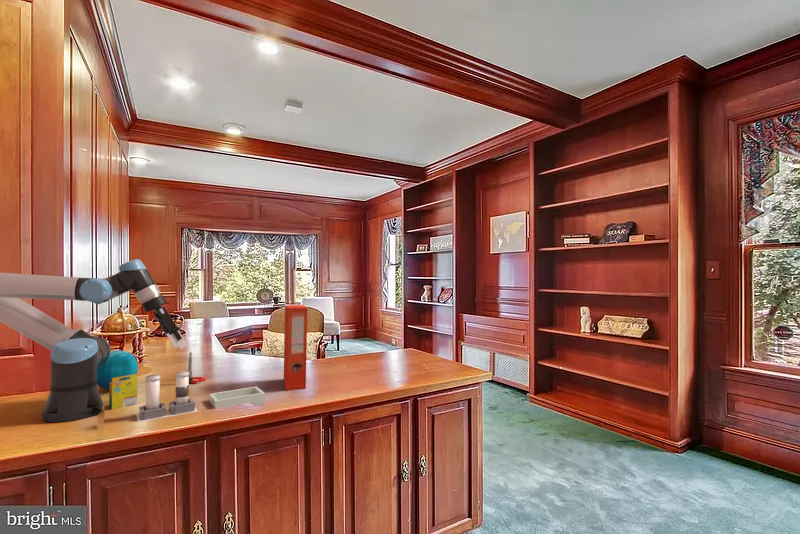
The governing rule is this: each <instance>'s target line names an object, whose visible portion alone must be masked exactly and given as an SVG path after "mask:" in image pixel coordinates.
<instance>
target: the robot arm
mask: <svg viewBox="0 0 800 534" xmlns="http://www.w3.org/2000/svg"><path fill="white" fill-rule="evenodd" d="M118 270H119V272H117V273H115V274H113V275H110V276H108V277H105V278H99V277H98V278H94V277H92V278H91V277H77V276H74V277H73V276H63V275H62V276H60V275H45V274H43V275H42V274H27V273H25V274H24V273H13V272H0V323H2V324H4V325H6V326H7V327H10V328H11V329H13V330H15V331H16V332H18V333H20V334H21V335H23V336H25V337H26V338H28V339H30V340H32V341H33V342H35V343H37V344H39V345H41V346H43V347H44V348H46V349H48V351H51V352H50V354H49V355H50V356H49V358H50V377H49V378H50V382H49V383H50V386H49V394H48V397H47V399H46V402H45V404H44V407H43V409H42V412H41V420H42V421H43V420H44V421H43V422H45V421H48V422H47V423H61V421H64V422H70V421H71V420H72V421H75V420H81V419H85V418H88V417H92V416H95V415H97V414H99V413H101V412H102V411H103V410H104V402H103V399H102V396H101V394H100V391H99V389H98V385H97V369H98V368H100V367H102V366H103V365H104V364H105V363H106V362H107V360H108V358H109V356H110V352H111V351H112V350H111V346H110V344H109V342H108V341H107V340H106V339H104V337H101V336H96V335H91V334H90V333H88V332H87V331H84V330H83V329H82V328H77V329H72V328H70V327H69V326H67V325H65V324H64V323H62V322H60V321H59V320H57V319H55V318H53V317H52V316H51V315H49V314H46V313H45V312H43V311H42V310H40V309H38V308H36V307H35V306H33V305H32V304H30V303H28V302H26V301H25V300H24V299H32V300H33V299H35V300H36V299H37V300H55V301H56V300H58V301H59V300H61V301H65V300H66V301H83V302H90V303H93V304H95V305H101V304H104V303H107V302H109V301H110V300H112V299H115V298H118V297H119V296H121V295H123V294H126V293H127V292H130V291H133V294H134V295H135V297H136V299H137V300H138V303H141V306H142V308H143V309H144V311H145V312H146V313H150V312H152V311H153V317H154V318H155V319H156V320H157V322H158V323H159V325H160V328H161V329H162V332H163V333H165V334H166V336H167V338H168V339H169V341H170V343H171V344H172V346H173V347H174V349H177V348H179V349H180V350H182V349H184V348H186V347H187V346H188V345H189V344H188V342H187V341H186V339H185V338H184V337H183V335H182V333H181V332H180V330H179V326H178V325H177V324H176V322H175V321H174V320H173V319H172V317H171V315H170V314H169V312H168V310H167V309H166V308H165V307H162V306H164V305H165V304H167V299H166V298H165V297H164V295H163V294H162V293H161V290H160V286H159V285H157V284H156V282H155V280H154V278H153V277H152V275H151V274H150V271H149V270H148V267H146V265H145V264H144V263H143V261H142V260H141V259H139V258H135V259H132V260H129V261H127V262H124V263H122V264H121V265H119V267H118Z"/></svg>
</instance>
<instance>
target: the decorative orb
mask: <svg viewBox="0 0 800 534" xmlns="http://www.w3.org/2000/svg"><path fill="white" fill-rule="evenodd" d="M138 370H139V362H138V360H137V358H136V357H135V356H134V355H133V354H132V353H130V352H128V351H125V350H121V349H119V350H111V352H110V356H109V358H108V360H107V362H106V363H105V364H104V365H103V366H102V367H100V368H98V369H97V387H99V388H101V389H103V390H104V389H105V390H109V383H111V382H112V378H116V377H121V376H127V375H133V374H137V375H138ZM126 379H130V377H127V378H126V377H124V378H122V379H119V380H120V381H121V380H126Z"/></svg>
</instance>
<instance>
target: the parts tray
mask: <svg viewBox="0 0 800 534" xmlns="http://www.w3.org/2000/svg"><path fill="white" fill-rule="evenodd" d="M208 401H209V403H210V404H211V405H212V407H213V408H214V409H220V408H225V407H231V406H232V407H233V406H238V405H245V404H249V403H250V404H251V405H253V407H255V406H256V407H257V406H260V405H261V404H262V405H265V404H266V393H265V392H264V391H263V390H262V389H260V388H259V387H258V386H257V385H256V386H251V387H244V388H238V389H232V390H225V391H220V392H213V393H209V394H208ZM262 405H261V406H262Z"/></svg>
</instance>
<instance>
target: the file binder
mask: <svg viewBox="0 0 800 534" xmlns="http://www.w3.org/2000/svg"><path fill="white" fill-rule="evenodd" d="M283 335H284V338H283V339H284V340H283V341H284V345H283V349H284V350H283V351H284V352H283V383H284V388H285V391H295V390H294V389H298V390H305V389H307V386H306V385H307V341H308V340H307V338H308V307H306V305H303V304H294V305H293V304H286V305H285V306H284V334H283Z"/></svg>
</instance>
